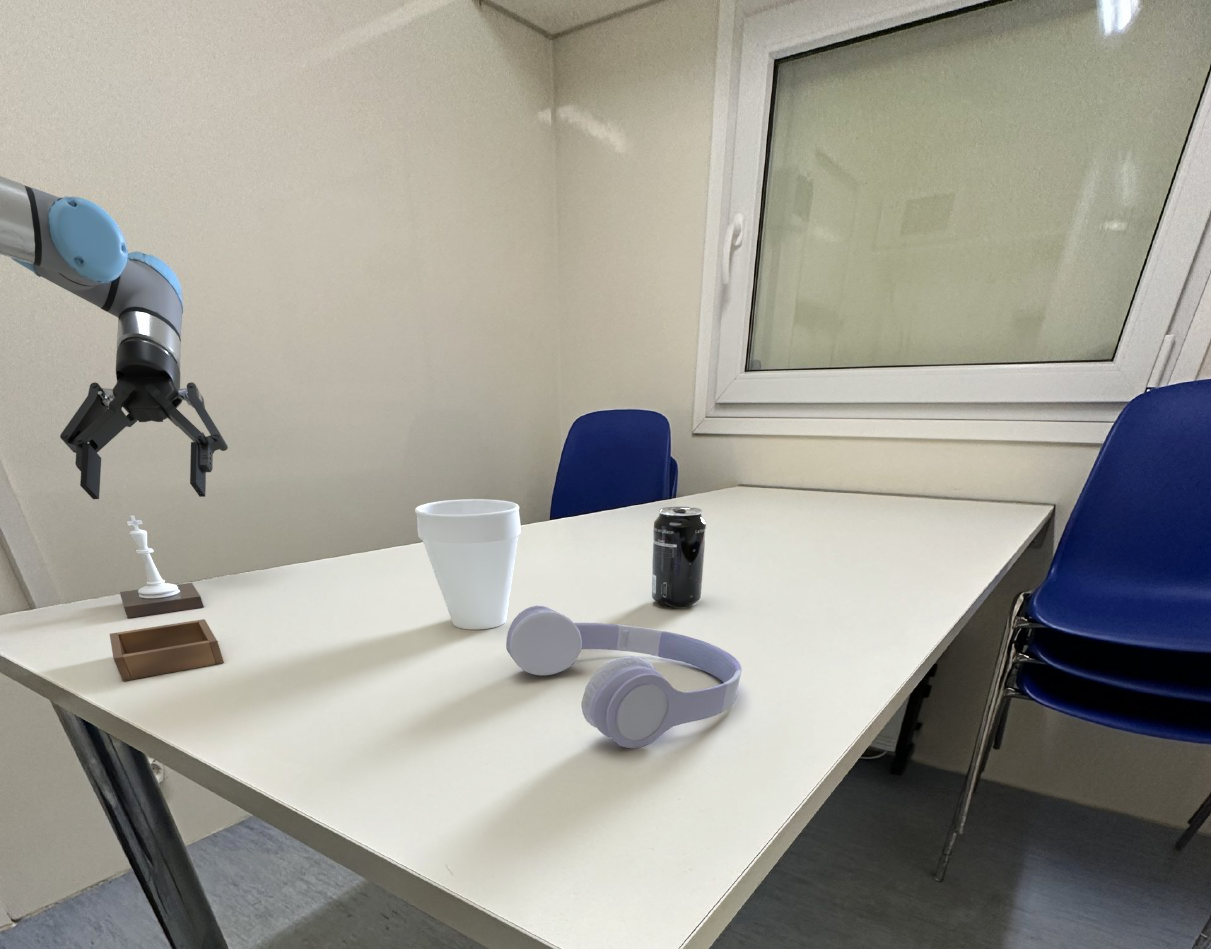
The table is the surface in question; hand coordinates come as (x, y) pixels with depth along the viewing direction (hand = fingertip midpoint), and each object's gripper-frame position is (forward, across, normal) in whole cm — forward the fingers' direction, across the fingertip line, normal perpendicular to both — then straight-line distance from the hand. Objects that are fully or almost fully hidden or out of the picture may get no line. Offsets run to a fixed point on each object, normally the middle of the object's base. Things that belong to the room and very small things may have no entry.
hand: (144, 491), depth 91 cm
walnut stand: (+14, 0, -6) cm, 15 cm away
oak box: (+30, -9, +11) cm, 34 cm away
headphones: (+43, -59, +23) cm, 76 cm away
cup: (+24, -44, +5) cm, 50 cm away
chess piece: (+13, 0, -5) cm, 14 cm away
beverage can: (+22, -70, +2) cm, 74 cm away
